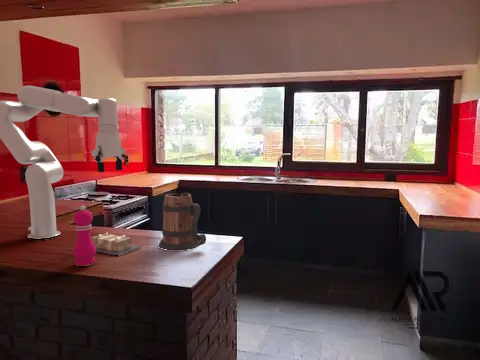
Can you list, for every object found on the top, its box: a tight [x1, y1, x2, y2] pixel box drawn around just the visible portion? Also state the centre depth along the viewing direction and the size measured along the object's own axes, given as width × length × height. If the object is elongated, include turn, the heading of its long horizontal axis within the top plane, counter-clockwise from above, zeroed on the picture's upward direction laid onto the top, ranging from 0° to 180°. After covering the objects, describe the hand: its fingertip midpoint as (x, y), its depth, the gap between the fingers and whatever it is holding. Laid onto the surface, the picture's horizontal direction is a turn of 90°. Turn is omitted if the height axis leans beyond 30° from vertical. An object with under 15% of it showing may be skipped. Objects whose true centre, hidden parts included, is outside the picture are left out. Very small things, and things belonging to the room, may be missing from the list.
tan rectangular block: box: [91, 233, 133, 251], centre depth 151 cm, size 14×7×4 cm, turn 61°
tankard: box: [158, 192, 207, 251], centre depth 154 cm, size 24×17×20 cm
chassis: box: [96, 232, 141, 256], centre depth 151 cm, size 18×11×6 cm, turn 61°
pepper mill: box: [72, 205, 97, 265], centre depth 133 cm, size 7×7×20 cm
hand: (110, 171), depth 165 cm, fingers open, 9 cm apart
